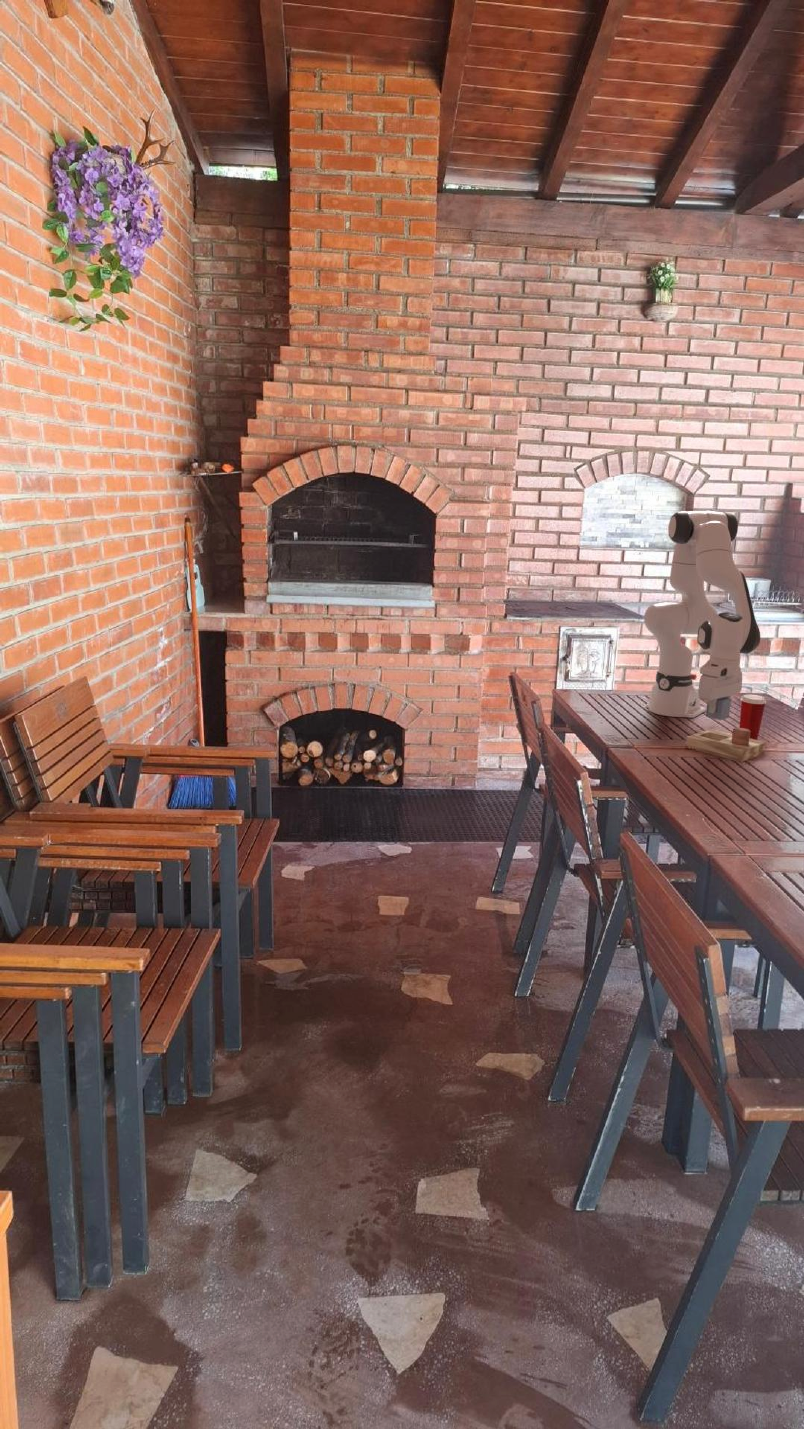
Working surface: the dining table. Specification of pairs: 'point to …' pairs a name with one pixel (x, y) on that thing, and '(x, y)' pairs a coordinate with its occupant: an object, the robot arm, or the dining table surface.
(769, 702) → the dining table surface
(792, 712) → the dining table surface
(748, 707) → the paper cup
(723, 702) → the slate block
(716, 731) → the assembly board
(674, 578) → the robot arm
